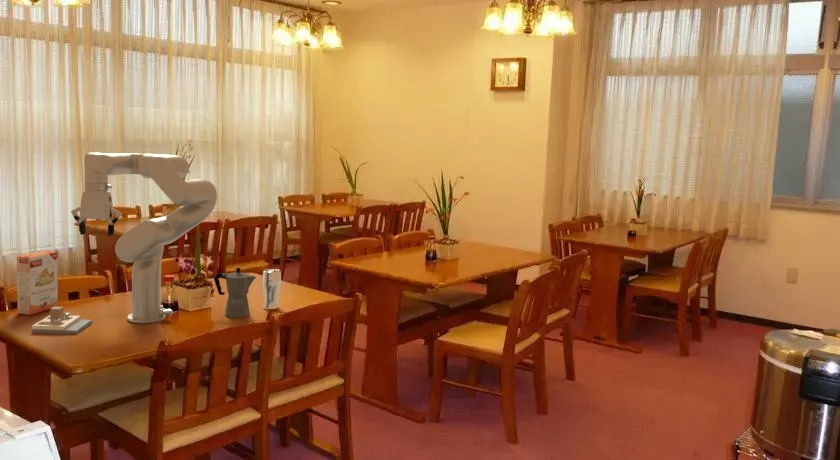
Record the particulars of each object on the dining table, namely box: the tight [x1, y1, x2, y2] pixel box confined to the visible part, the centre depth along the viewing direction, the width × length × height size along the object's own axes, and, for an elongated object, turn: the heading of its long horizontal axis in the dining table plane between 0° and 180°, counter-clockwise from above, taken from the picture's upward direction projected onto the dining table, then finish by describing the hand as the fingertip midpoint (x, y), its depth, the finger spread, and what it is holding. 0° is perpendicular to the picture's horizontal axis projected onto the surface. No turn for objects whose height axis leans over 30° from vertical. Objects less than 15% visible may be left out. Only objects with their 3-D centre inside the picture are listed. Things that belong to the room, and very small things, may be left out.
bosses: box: [53, 312, 72, 325], centre depth 237 cm, size 3×10×3 cm, turn 4°
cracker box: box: [16, 250, 59, 316], centre depth 255 cm, size 14×6×21 cm, turn 168°
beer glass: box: [262, 268, 282, 308], centre depth 275 cm, size 7×7×15 cm
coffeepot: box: [213, 267, 257, 319], centre depth 263 cm, size 15×9×18 cm, turn 92°
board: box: [31, 318, 93, 335], centre depth 237 cm, size 14×13×1 cm
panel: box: [31, 306, 81, 330], centre depth 237 cm, size 10×13×6 cm
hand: (96, 234), depth 255 cm, fingers open, 9 cm apart
